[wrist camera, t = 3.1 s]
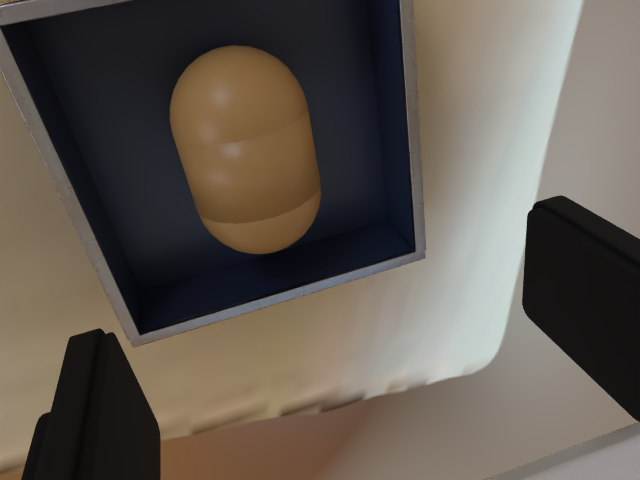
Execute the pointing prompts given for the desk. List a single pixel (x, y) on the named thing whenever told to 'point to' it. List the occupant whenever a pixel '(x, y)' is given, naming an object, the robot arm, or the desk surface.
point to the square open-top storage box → (164, 161)
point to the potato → (246, 148)
